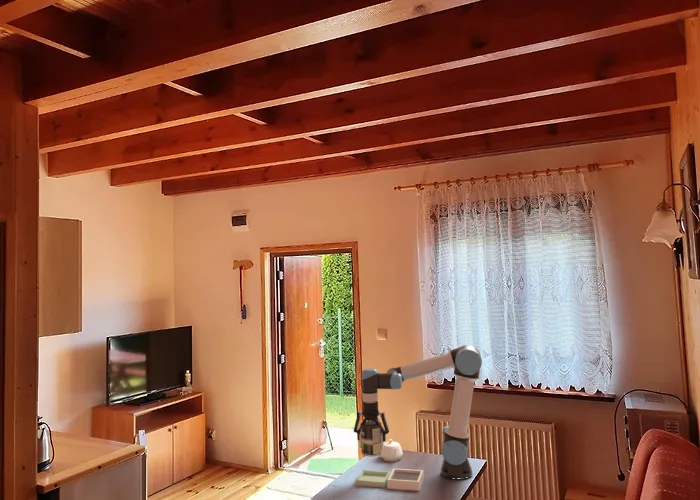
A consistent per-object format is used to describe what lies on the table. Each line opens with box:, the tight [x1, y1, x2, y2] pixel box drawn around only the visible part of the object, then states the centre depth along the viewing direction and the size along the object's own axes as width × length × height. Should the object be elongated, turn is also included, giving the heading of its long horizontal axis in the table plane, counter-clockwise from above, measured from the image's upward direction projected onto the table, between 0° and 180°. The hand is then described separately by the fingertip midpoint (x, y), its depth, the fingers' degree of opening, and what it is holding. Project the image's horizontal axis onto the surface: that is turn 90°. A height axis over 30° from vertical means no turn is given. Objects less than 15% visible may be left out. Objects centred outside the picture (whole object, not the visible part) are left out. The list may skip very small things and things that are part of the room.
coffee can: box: [359, 421, 382, 458], centre depth 257 cm, size 10×10×14 cm
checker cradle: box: [386, 468, 425, 492], centre depth 251 cm, size 15×15×4 cm
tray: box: [355, 469, 391, 489], centre depth 256 cm, size 14×14×2 cm
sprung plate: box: [392, 472, 420, 481], centre depth 252 cm, size 12×12×1 cm
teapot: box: [379, 438, 404, 462], centre depth 287 cm, size 20×12×10 cm, turn 10°
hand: (371, 447), depth 257 cm, fingers closed on coffee can, 10 cm apart
